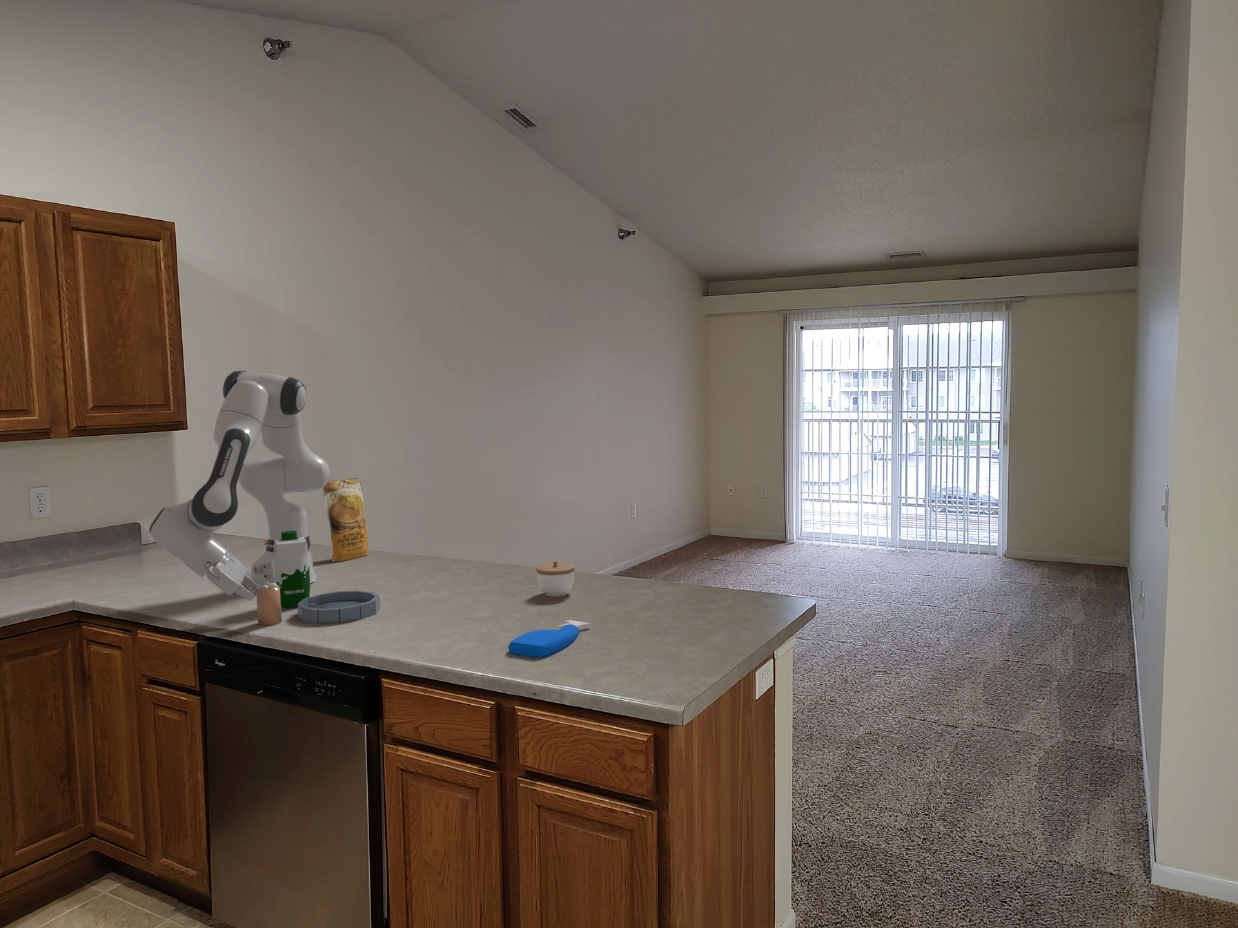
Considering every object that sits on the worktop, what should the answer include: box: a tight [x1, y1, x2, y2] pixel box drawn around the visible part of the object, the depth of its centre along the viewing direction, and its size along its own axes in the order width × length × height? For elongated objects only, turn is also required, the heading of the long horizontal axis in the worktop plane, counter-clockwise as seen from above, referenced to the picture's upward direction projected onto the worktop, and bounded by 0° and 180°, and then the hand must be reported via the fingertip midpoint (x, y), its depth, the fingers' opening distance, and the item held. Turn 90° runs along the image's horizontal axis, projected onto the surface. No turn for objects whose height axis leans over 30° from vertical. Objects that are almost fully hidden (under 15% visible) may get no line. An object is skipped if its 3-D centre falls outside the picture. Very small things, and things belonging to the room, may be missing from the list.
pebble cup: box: [255, 582, 283, 627], centre depth 214 cm, size 6×6×10 cm
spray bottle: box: [507, 619, 591, 659], centre depth 193 cm, size 3×11×24 cm
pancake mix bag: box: [322, 477, 370, 563], centre depth 295 cm, size 7×19×28 cm, turn 149°
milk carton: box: [274, 531, 311, 610], centre depth 231 cm, size 9×9×20 cm
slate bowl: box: [297, 590, 381, 625], centre depth 222 cm, size 20×20×4 cm
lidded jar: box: [535, 560, 576, 598], centre depth 236 cm, size 11×11×9 cm
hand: (254, 594), depth 212 cm, fingers open, 8 cm apart
